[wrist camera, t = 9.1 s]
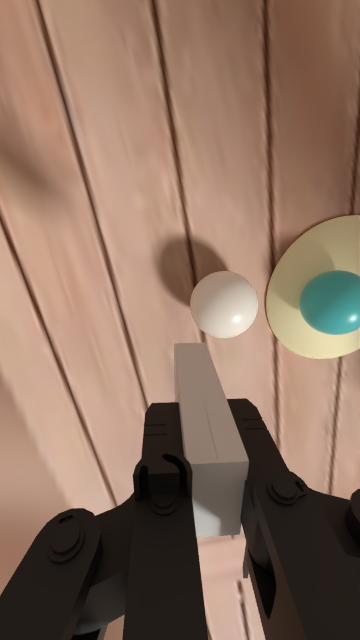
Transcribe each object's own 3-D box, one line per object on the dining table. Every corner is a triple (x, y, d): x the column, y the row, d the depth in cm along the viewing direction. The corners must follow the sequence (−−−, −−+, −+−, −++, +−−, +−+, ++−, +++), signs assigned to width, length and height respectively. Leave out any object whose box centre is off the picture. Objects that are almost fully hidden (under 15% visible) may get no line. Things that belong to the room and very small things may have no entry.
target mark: (429, 215, 23) (431, 215, 23) (384, 355, 28) (386, 356, 28) (276, 214, 22) (277, 214, 22) (258, 360, 27) (258, 361, 27)
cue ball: (175, 273, 20) (214, 263, 24) (177, 337, 22) (212, 318, 26) (239, 283, 17) (272, 269, 21) (234, 357, 19) (265, 332, 23)
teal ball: (291, 266, 23) (340, 264, 25) (282, 324, 25) (328, 318, 27) (343, 279, 18) (401, 275, 20) (327, 350, 20) (380, 341, 22)
